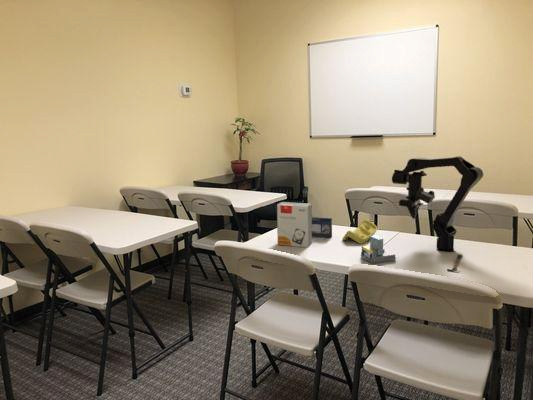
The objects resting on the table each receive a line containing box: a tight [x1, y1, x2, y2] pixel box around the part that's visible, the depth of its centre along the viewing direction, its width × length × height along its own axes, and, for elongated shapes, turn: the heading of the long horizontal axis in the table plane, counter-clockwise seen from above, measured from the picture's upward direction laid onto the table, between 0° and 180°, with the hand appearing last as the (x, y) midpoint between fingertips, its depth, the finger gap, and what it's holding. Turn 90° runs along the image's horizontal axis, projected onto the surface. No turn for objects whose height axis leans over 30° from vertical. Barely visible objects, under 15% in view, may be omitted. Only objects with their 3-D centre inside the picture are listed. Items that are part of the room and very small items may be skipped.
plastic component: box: [342, 219, 378, 245], centre depth 205 cm, size 20×7×10 cm
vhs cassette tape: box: [312, 216, 333, 239], centre depth 210 cm, size 18×3×10 cm, turn 70°
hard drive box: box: [276, 201, 313, 248], centre depth 196 cm, size 16×8×20 cm, turn 68°
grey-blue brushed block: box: [364, 234, 384, 259], centre depth 171 cm, size 6×6×8 cm
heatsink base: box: [360, 245, 397, 265], centre depth 172 cm, size 11×9×5 cm
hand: (413, 218), depth 191 cm, fingers closed
